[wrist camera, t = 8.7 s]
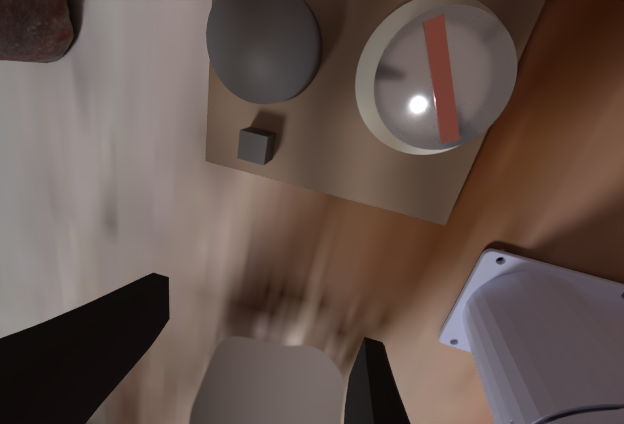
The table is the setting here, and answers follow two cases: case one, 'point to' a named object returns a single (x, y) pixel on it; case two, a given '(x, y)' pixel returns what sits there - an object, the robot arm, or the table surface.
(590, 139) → the table surface
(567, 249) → the table surface
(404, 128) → the knob
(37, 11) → the candle
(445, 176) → the base board
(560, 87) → the table surface
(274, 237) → the table surface
